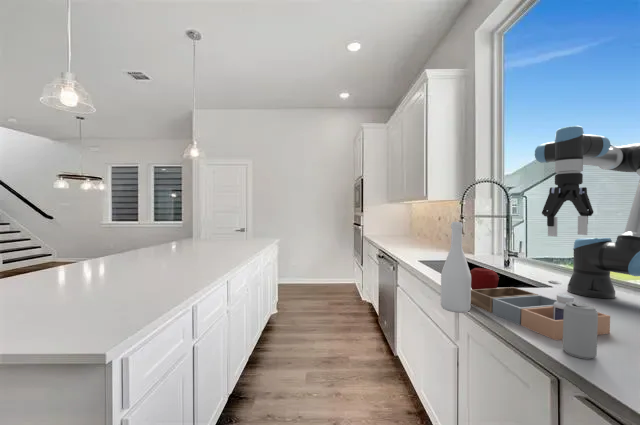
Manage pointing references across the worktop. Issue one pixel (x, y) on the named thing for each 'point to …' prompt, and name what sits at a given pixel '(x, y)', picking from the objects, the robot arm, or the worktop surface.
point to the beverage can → (580, 330)
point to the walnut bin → (494, 296)
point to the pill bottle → (561, 306)
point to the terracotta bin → (554, 322)
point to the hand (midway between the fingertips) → (567, 235)
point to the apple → (483, 278)
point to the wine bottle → (456, 276)
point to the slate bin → (519, 306)
